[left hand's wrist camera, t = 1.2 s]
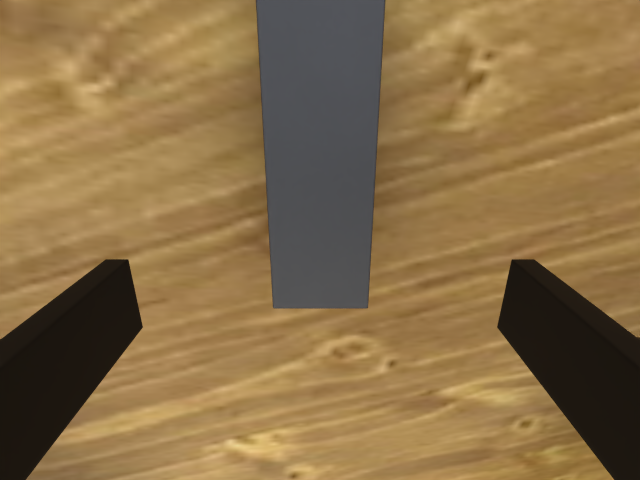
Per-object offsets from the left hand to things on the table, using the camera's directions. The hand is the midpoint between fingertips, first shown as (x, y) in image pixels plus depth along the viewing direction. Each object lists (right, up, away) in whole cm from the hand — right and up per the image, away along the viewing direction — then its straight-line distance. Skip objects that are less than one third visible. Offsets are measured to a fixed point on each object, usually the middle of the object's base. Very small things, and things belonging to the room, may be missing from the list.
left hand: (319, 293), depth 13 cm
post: (0, +27, +4) cm, 27 cm away
